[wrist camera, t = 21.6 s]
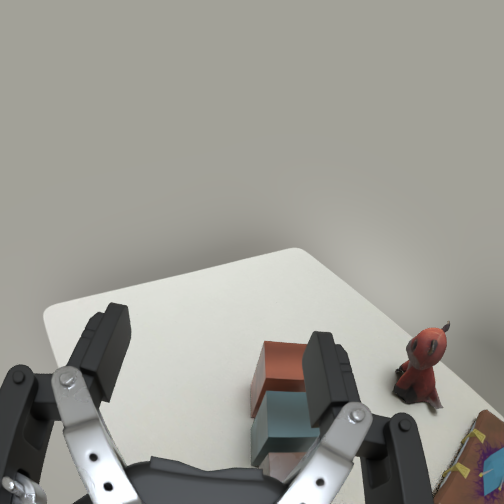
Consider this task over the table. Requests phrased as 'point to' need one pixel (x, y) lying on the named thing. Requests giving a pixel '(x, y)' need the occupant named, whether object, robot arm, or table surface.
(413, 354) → the stuffed fox
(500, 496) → the book
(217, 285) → the table surface
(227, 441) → the table surface
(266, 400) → the three coloured blocks
